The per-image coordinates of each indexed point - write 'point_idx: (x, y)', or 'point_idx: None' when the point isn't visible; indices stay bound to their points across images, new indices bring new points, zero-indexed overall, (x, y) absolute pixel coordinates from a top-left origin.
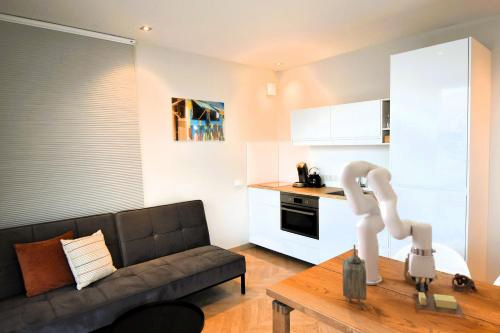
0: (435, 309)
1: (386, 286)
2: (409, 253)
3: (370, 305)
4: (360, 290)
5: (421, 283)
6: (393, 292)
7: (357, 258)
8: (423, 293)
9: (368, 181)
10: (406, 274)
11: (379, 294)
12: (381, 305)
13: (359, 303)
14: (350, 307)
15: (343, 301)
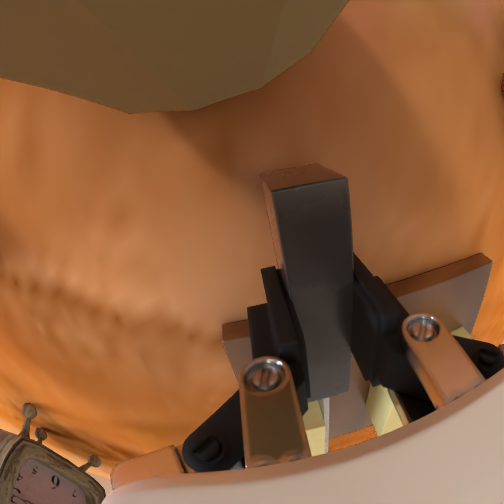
0: (351, 423)
1: (10, 245)
2: None
3: (95, 441)
4: None
5: (332, 219)
6: (84, 324)
7: None
8: (318, 435)
9: None
10: (118, 483)
11: (52, 371)
12: (122, 439)
13: (85, 467)
14: (69, 448)
15: (33, 427)
